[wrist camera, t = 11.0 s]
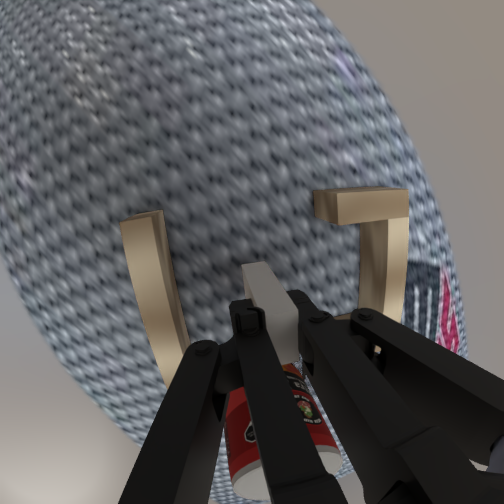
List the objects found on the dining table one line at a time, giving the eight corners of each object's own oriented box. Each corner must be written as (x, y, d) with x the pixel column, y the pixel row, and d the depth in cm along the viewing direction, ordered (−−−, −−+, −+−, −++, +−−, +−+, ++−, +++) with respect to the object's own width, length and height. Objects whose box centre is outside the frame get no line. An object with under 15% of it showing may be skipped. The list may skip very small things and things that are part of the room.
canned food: (315, 366, 24) (364, 452, 13) (272, 418, 25) (298, 501, 15) (246, 342, 22) (275, 448, 11) (206, 401, 23) (213, 497, 13)
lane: (136, 214, 18) (119, 222, 14) (377, 186, 20) (408, 189, 16) (173, 364, 21) (169, 394, 18) (373, 324, 24) (396, 344, 20)
